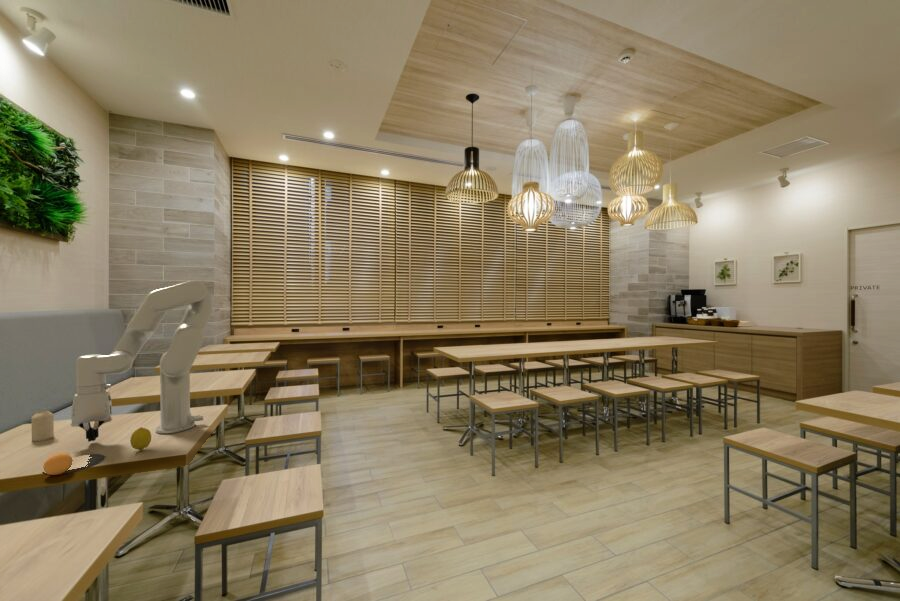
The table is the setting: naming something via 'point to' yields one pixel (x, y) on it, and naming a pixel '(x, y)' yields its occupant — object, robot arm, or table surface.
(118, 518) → the table surface
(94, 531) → the table surface
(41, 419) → the candle
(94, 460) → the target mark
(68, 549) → the table surface
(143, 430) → the lemon
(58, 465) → the ball
